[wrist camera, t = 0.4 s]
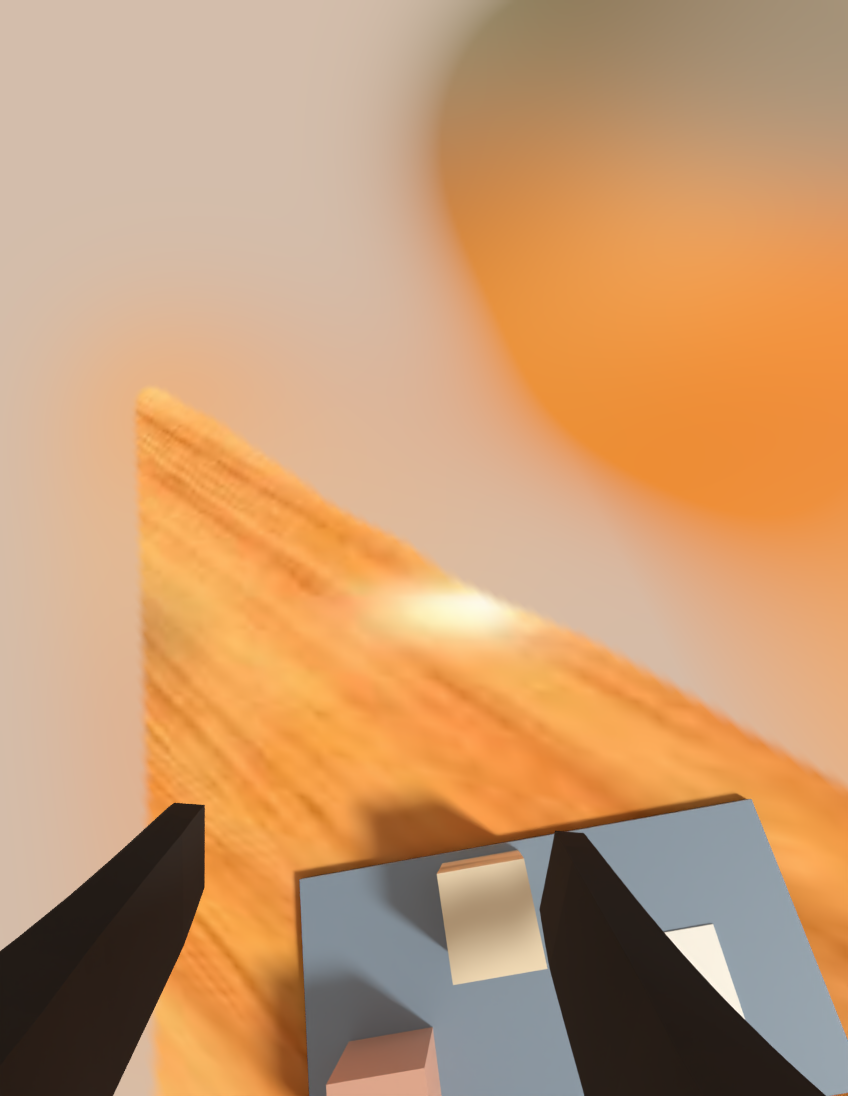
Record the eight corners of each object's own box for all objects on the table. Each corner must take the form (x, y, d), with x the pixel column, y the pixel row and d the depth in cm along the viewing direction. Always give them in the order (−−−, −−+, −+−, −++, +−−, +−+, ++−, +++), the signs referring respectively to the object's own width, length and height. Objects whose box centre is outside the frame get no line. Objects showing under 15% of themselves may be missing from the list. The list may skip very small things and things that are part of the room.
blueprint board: (859, 1083, 28) (868, 1090, 27) (316, 1174, 28) (312, 1183, 28) (747, 799, 34) (752, 799, 33) (302, 878, 34) (299, 879, 34)
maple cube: (537, 943, 31) (547, 968, 27) (456, 957, 31) (452, 985, 27) (518, 849, 33) (524, 858, 29) (442, 863, 34) (436, 873, 29)
